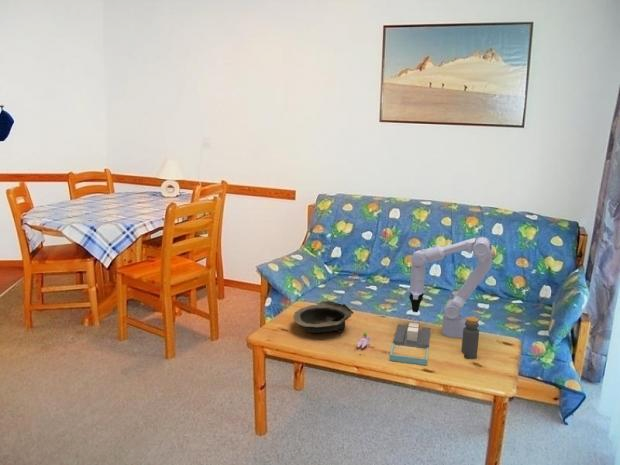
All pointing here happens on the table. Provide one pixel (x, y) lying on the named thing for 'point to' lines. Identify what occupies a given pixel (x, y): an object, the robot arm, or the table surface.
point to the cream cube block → (414, 325)
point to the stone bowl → (323, 317)
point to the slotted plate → (420, 343)
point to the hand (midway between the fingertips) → (415, 310)
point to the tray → (408, 358)
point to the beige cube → (412, 334)
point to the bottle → (470, 338)
